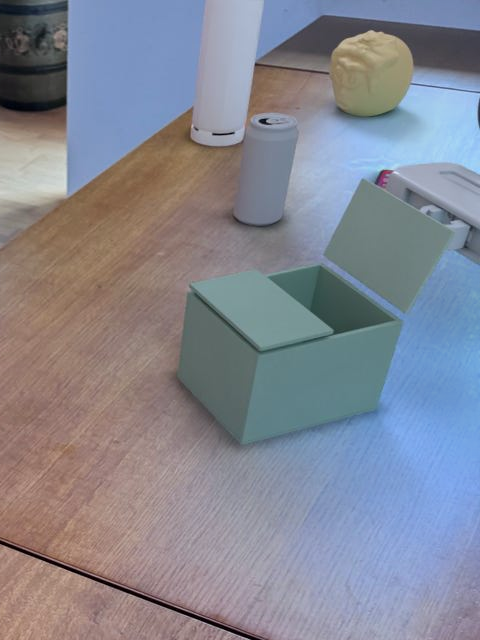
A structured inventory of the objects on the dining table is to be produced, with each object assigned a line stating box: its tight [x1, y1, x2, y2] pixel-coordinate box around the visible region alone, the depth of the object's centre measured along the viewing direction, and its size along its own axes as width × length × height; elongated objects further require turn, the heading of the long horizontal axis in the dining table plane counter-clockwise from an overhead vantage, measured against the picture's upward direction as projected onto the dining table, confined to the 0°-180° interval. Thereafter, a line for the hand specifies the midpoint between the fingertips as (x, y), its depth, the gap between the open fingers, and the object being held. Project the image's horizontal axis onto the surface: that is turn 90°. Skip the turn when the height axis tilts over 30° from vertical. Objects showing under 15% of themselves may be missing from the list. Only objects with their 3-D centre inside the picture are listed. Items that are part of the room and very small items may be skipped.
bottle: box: [189, 0, 265, 147], centre depth 129 cm, size 8×8×28 cm
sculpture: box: [328, 29, 415, 117], centre depth 142 cm, size 12×12×11 cm
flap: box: [322, 177, 456, 315], centre depth 83 cm, size 7×13×1 cm
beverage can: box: [232, 112, 300, 227], centre depth 115 cm, size 6×6×12 cm
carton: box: [176, 261, 405, 446], centre depth 88 cm, size 15×13×10 cm
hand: (405, 235), depth 83 cm, fingers closed
